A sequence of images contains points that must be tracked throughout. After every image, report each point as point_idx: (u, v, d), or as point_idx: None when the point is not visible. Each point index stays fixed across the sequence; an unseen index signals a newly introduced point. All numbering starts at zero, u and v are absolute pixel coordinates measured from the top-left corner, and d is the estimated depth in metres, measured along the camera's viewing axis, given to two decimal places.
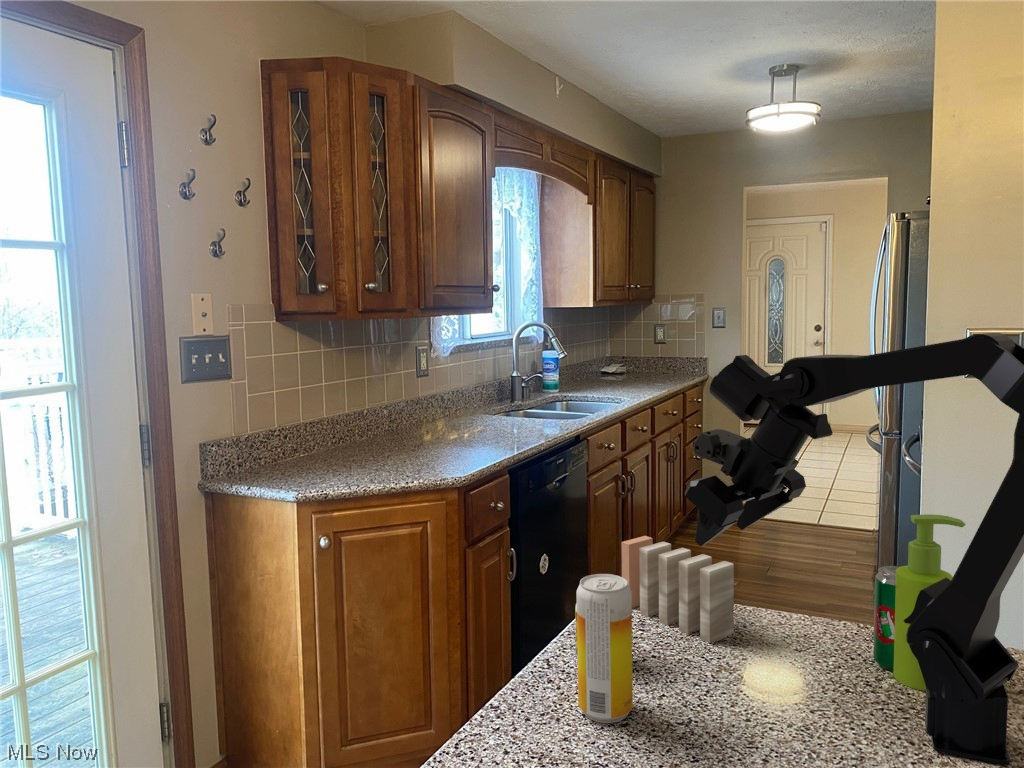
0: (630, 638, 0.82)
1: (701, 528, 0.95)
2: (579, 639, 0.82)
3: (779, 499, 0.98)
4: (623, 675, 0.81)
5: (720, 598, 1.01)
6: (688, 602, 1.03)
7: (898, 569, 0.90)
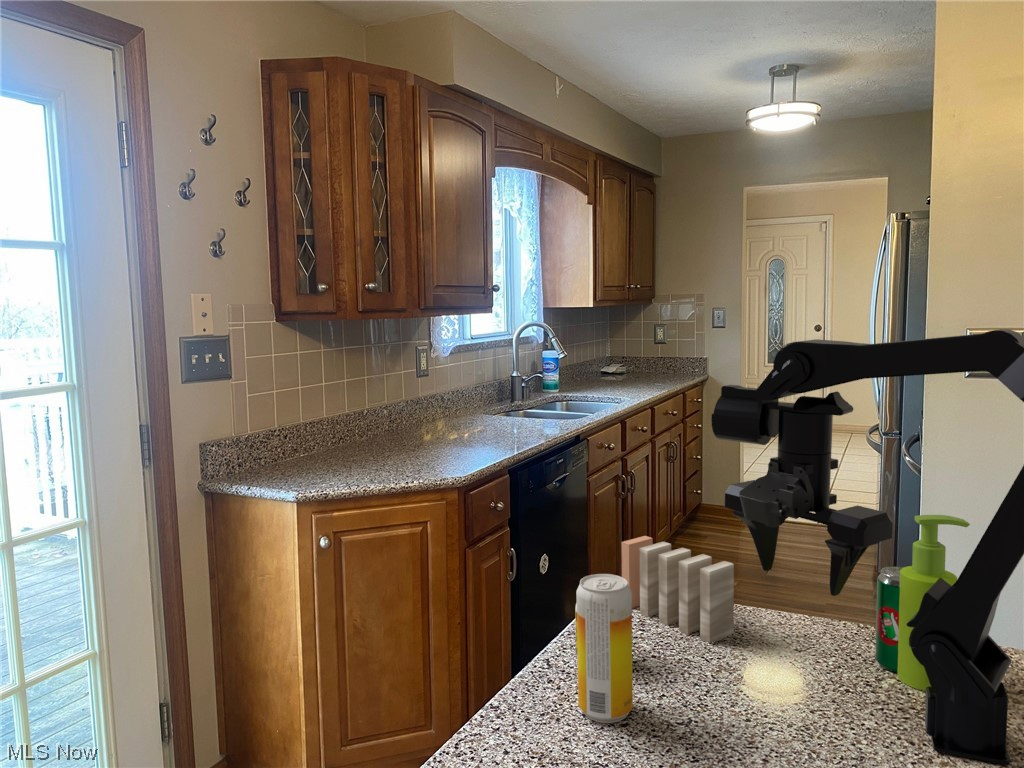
0: (630, 638, 0.82)
1: (842, 573, 0.82)
2: (579, 639, 0.82)
3: None
4: (623, 675, 0.81)
5: (720, 598, 1.01)
6: (688, 602, 1.03)
7: (902, 570, 0.89)
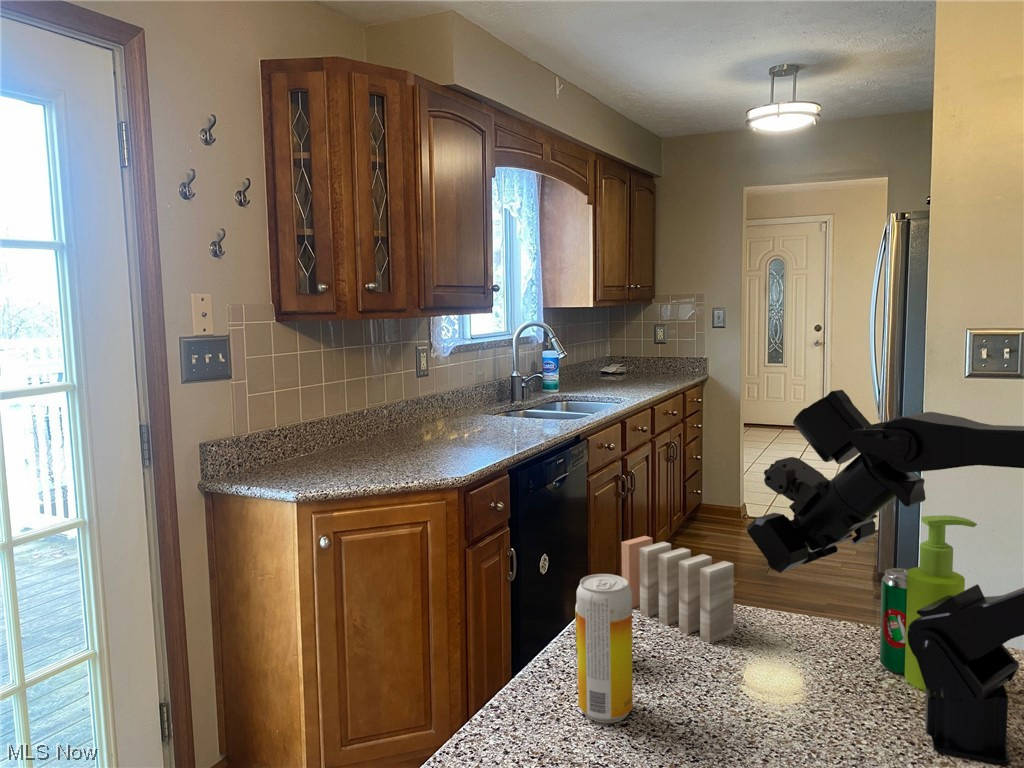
0: (630, 638, 0.82)
1: None
2: (579, 639, 0.82)
3: (823, 549, 0.89)
4: (623, 675, 0.81)
5: (720, 598, 1.01)
6: (688, 602, 1.03)
7: (910, 572, 0.89)
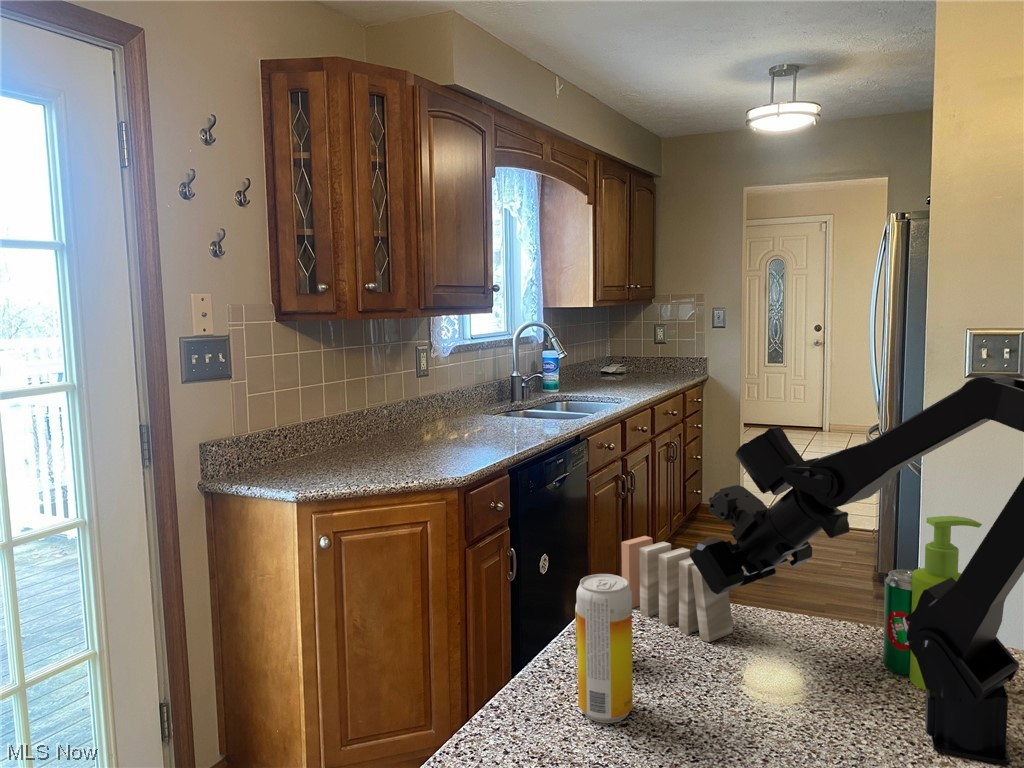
0: (630, 638, 0.82)
1: None
2: (579, 639, 0.82)
3: (762, 572, 0.97)
4: (623, 675, 0.81)
5: (715, 595, 1.02)
6: (688, 602, 1.03)
7: (915, 573, 0.88)
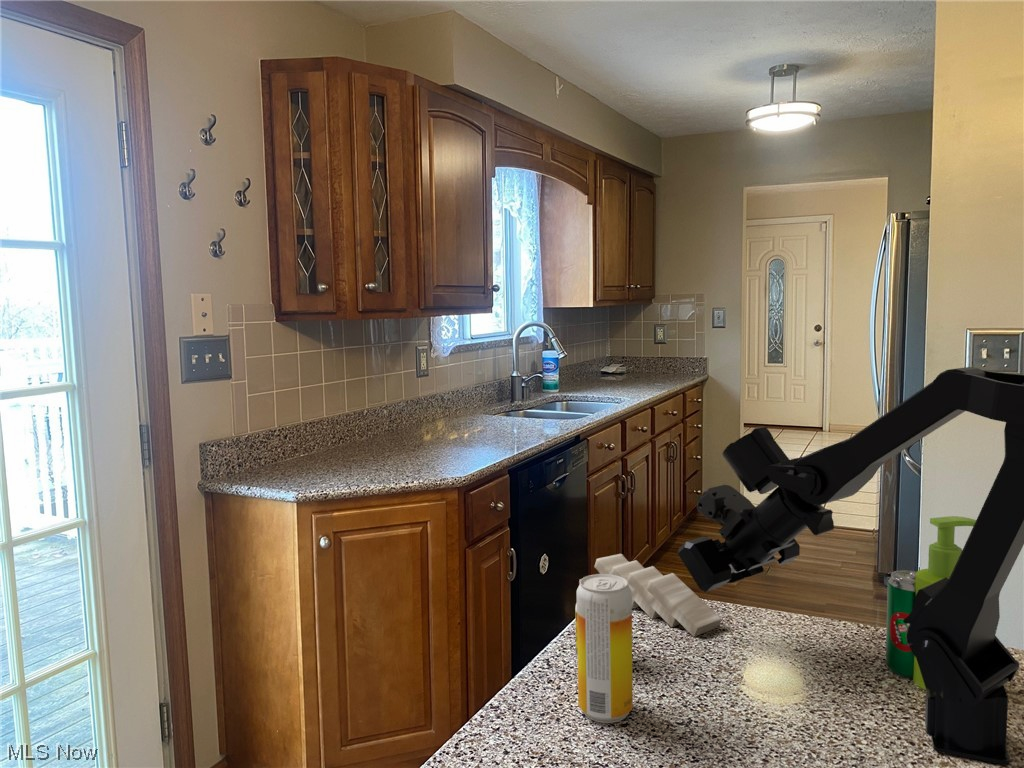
0: (630, 638, 0.82)
1: None
2: (579, 639, 0.82)
3: (750, 570, 0.99)
4: (623, 675, 0.81)
5: (679, 596, 1.07)
6: None
7: (919, 574, 0.88)
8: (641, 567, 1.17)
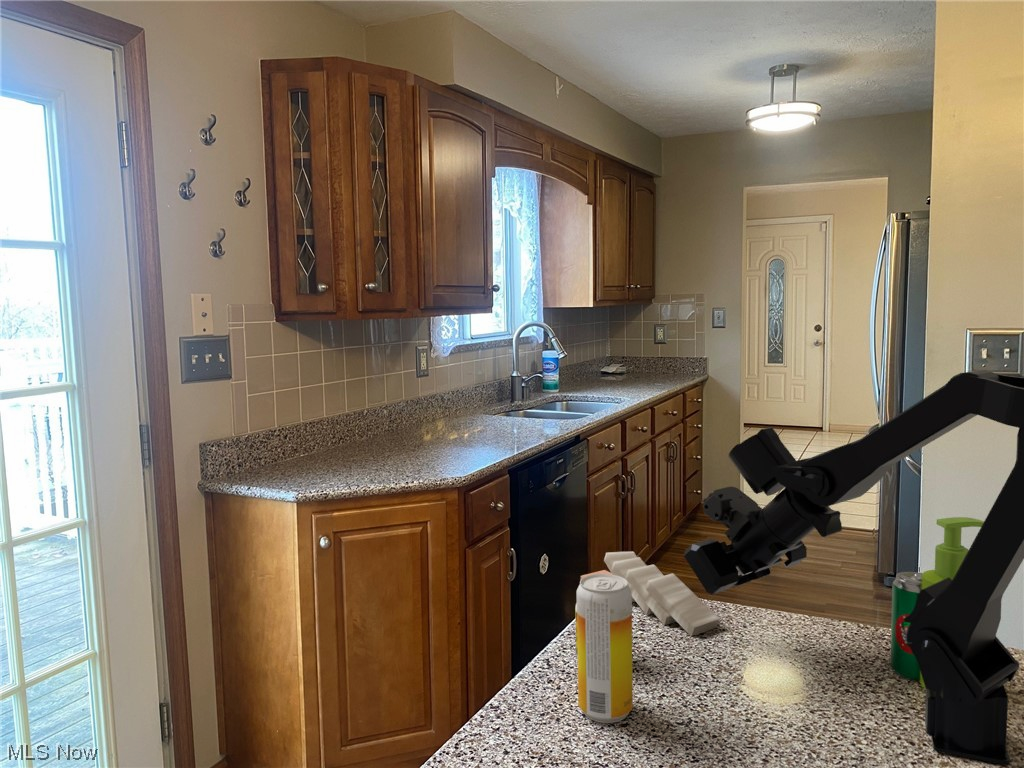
0: (630, 638, 0.82)
1: None
2: (579, 639, 0.82)
3: (757, 572, 0.98)
4: (623, 675, 0.81)
5: (678, 596, 1.08)
6: (649, 594, 1.09)
7: (926, 576, 0.87)
8: (643, 564, 1.18)
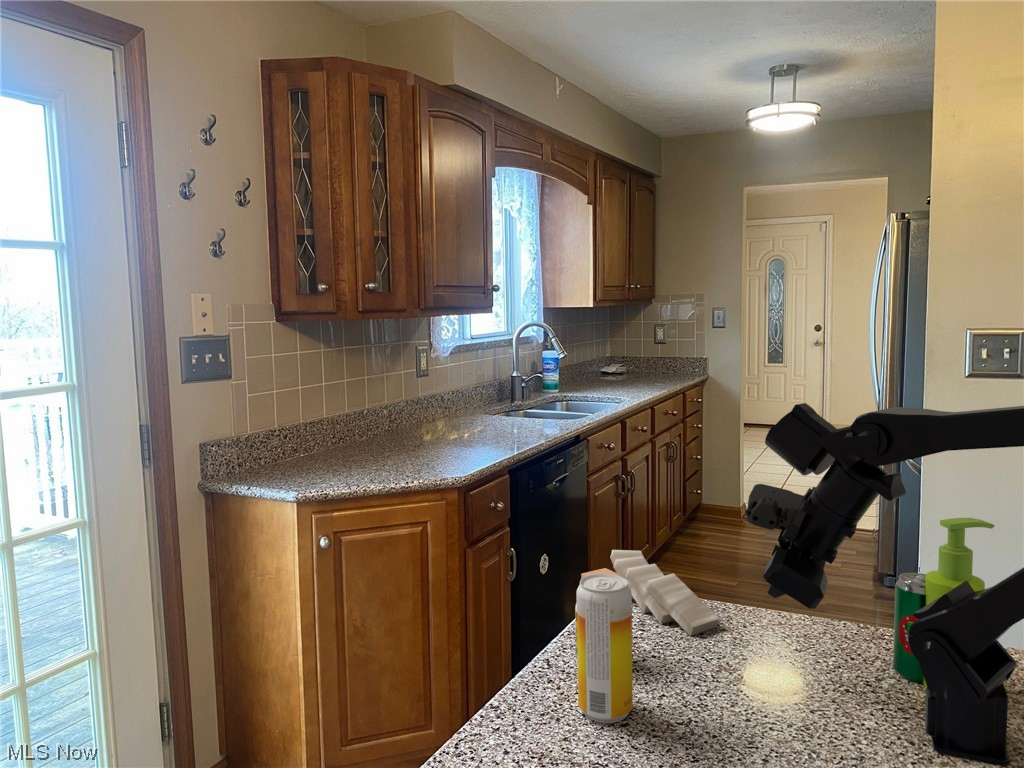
0: (630, 638, 0.82)
1: None
2: (579, 639, 0.82)
3: None
4: (623, 675, 0.81)
5: (678, 595, 1.08)
6: (647, 593, 1.10)
7: (929, 577, 0.87)
8: (646, 563, 1.18)
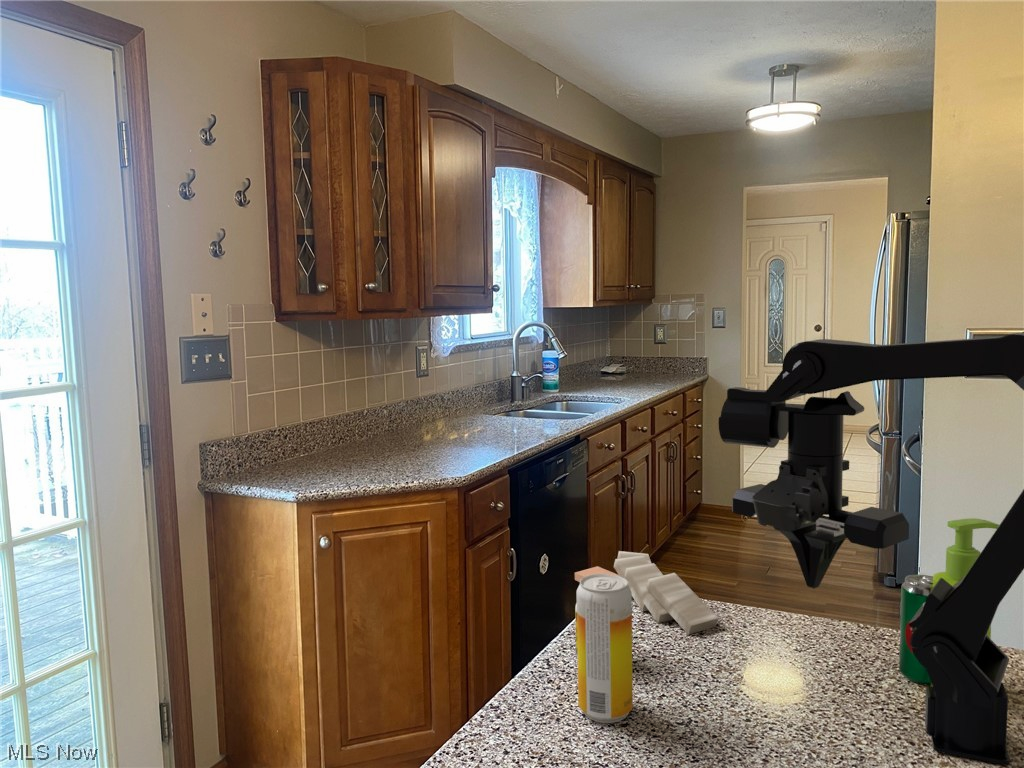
0: (630, 638, 0.82)
1: (821, 566, 0.84)
2: (579, 639, 0.82)
3: (816, 521, 0.87)
4: (623, 675, 0.81)
5: (677, 594, 1.08)
6: (645, 592, 1.10)
7: (937, 579, 0.86)
8: (646, 562, 1.19)
